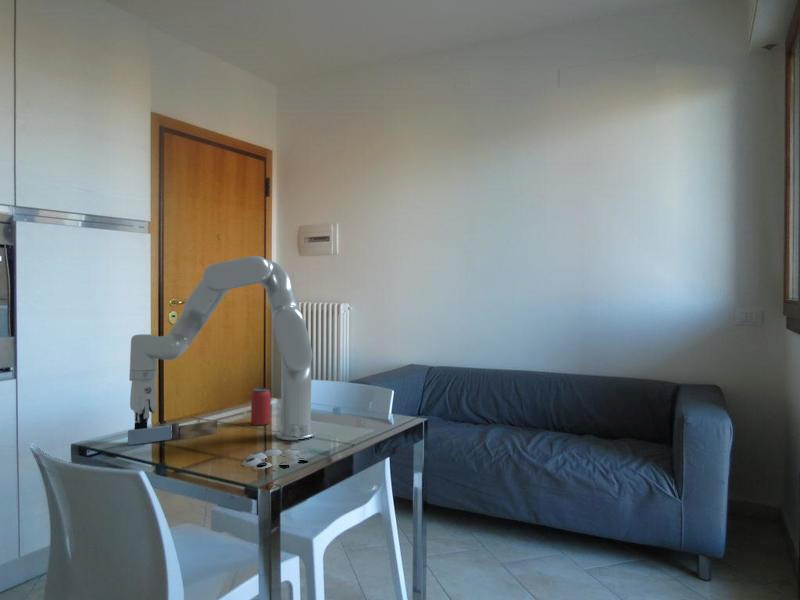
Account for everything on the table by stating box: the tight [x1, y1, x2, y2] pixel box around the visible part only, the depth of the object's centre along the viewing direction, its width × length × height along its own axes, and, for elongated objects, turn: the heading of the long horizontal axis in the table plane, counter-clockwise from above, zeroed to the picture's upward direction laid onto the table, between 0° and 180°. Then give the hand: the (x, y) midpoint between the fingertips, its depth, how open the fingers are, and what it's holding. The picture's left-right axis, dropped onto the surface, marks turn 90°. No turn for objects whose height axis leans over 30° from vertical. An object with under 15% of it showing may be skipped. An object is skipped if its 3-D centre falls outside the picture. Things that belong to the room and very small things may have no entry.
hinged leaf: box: [127, 425, 172, 446], centre depth 170 cm, size 12×1×4 cm, turn 125°
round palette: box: [241, 448, 306, 469], centre depth 153 cm, size 20×20×2 cm
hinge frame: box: [171, 420, 218, 441], centre depth 178 cm, size 14×2×5 cm, turn 132°
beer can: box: [250, 387, 272, 426], centre depth 197 cm, size 7×7×12 cm
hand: (140, 435), depth 171 cm, fingers closed
